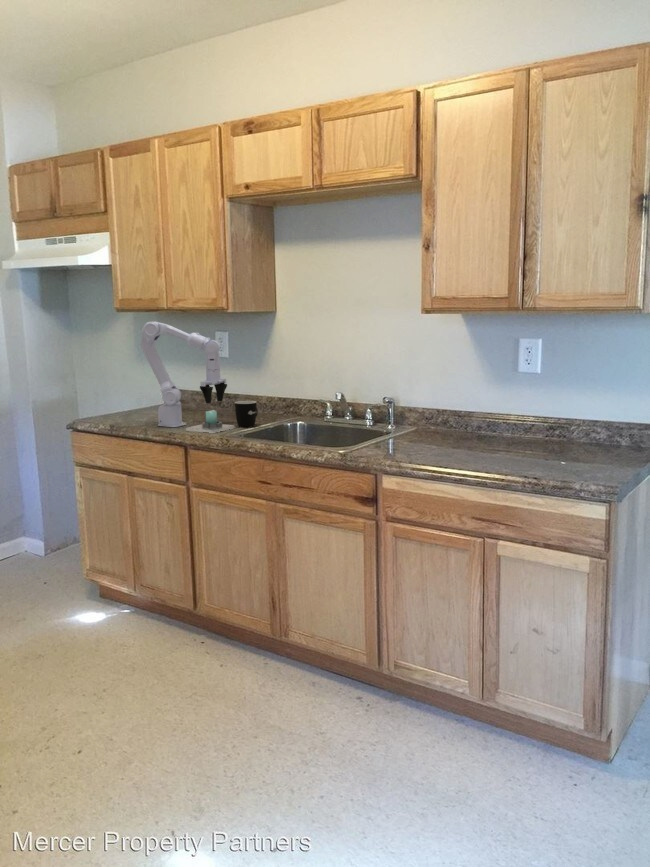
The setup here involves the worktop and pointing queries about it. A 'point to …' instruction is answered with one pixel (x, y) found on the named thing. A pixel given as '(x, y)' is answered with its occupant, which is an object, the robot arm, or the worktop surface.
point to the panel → (210, 427)
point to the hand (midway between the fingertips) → (214, 402)
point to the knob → (211, 417)
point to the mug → (246, 413)
